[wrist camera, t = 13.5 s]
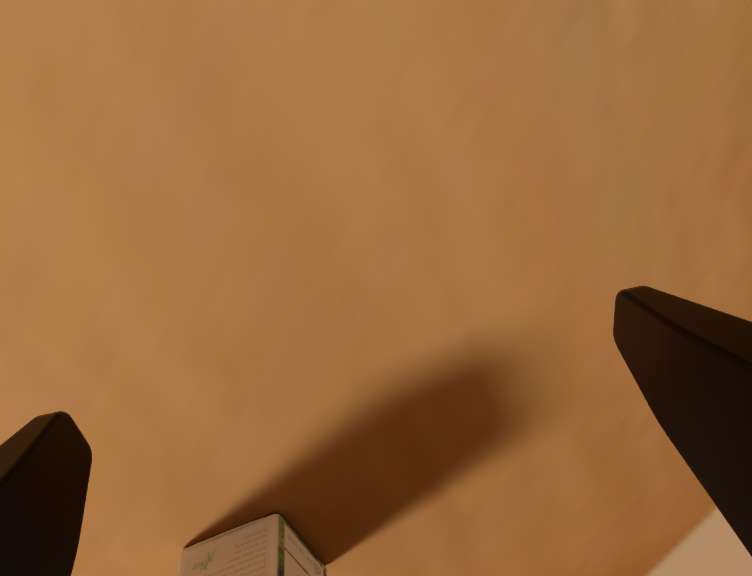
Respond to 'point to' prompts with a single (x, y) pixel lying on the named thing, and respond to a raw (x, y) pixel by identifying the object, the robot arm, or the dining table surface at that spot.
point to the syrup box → (252, 552)
